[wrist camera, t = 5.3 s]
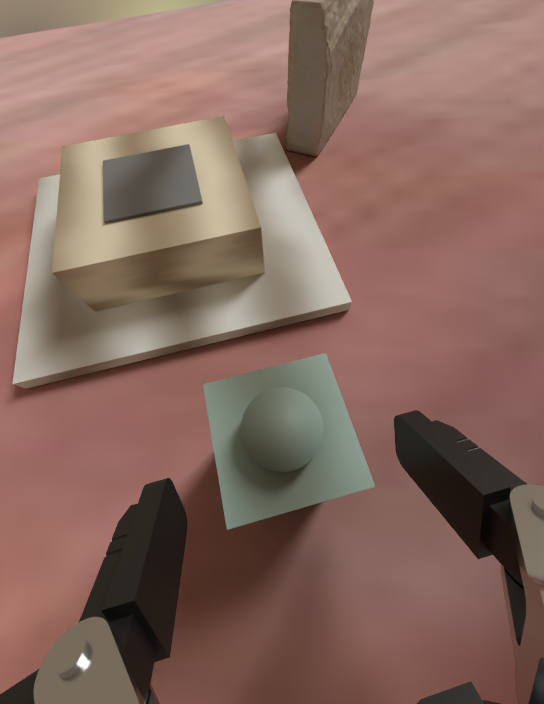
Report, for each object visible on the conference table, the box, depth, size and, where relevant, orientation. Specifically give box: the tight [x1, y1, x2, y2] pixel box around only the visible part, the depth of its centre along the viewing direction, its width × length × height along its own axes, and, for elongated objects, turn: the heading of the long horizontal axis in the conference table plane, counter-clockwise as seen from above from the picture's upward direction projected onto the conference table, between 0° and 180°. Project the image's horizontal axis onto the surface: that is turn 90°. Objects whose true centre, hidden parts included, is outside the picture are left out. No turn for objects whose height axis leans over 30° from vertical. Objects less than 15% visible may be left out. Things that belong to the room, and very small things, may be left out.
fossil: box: [286, 0, 374, 157], centre depth 25 cm, size 12×4×10 cm, turn 156°
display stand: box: [13, 116, 352, 389], centre depth 21 cm, size 22×20×5 cm
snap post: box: [203, 353, 375, 530], centre depth 12 cm, size 4×4×9 cm
